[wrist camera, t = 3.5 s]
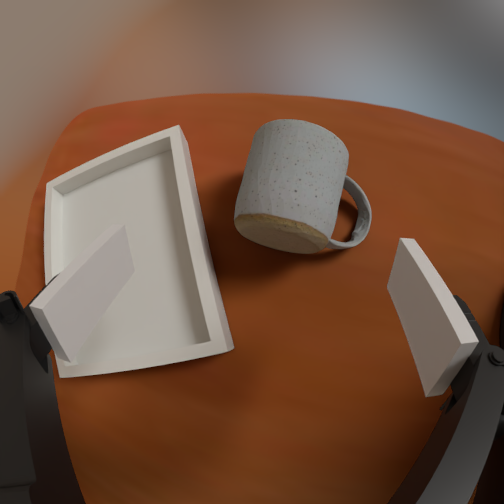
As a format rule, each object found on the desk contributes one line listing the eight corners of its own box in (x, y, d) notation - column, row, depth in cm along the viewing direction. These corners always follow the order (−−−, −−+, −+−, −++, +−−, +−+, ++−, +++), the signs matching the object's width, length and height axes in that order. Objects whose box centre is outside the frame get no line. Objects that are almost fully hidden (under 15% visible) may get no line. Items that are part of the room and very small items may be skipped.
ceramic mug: (235, 245, 24) (218, 211, 17) (258, 162, 26) (252, 107, 19) (359, 272, 23) (394, 250, 16) (369, 186, 25) (398, 139, 17)
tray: (187, 142, 28) (178, 124, 25) (234, 348, 22) (228, 351, 19) (62, 193, 28) (46, 183, 25) (79, 374, 23) (59, 378, 20)
